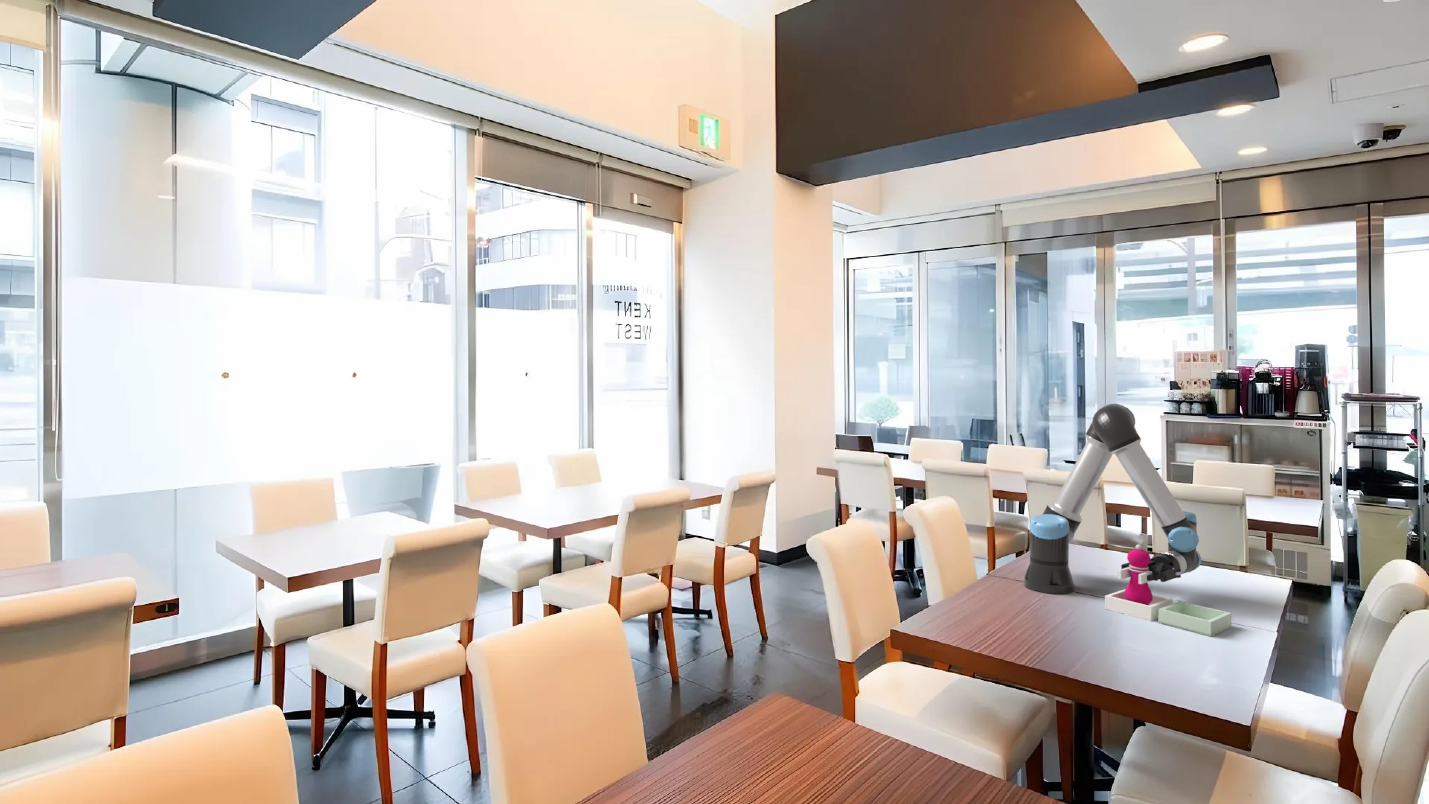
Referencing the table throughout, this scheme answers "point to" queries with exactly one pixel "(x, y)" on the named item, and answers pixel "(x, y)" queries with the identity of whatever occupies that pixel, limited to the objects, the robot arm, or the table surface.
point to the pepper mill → (1138, 566)
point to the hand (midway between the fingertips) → (1129, 577)
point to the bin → (1136, 605)
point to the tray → (1195, 618)
